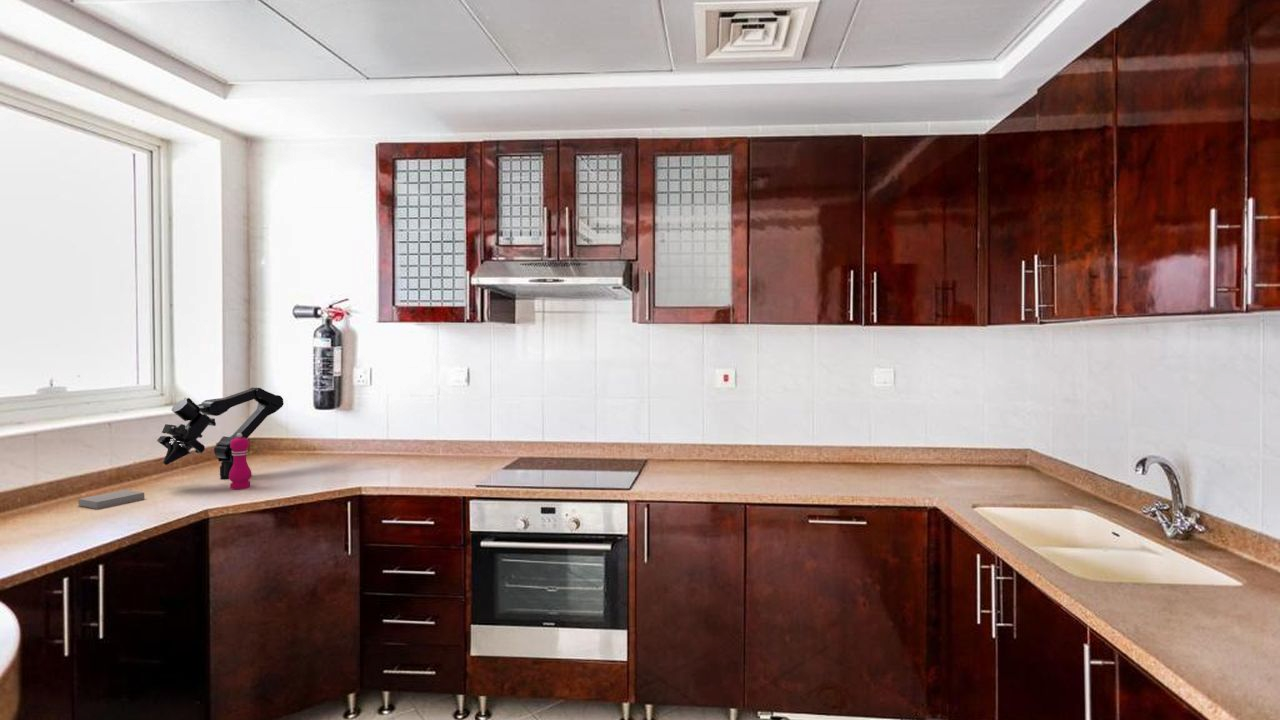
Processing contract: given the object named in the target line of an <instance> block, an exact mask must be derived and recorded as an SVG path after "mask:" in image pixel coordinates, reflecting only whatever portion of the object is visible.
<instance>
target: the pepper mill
mask: <svg viewBox="0 0 1280 720" xmlns="http://www.w3.org/2000/svg"><path fill="white" fill-rule="evenodd" d="M249 447H250V441H249V439H248V438H247V439H246V438H244V437H242V434H241V433H238V434H237V438H234V439H233V440H232V441H231V442H230V448H231V449H232V450H233V451H232V455H233V458H234V462H233V466H232V468H231V470H230V472H229V481H230V482H231V483H230V489H231V490H245V489H249V488H250V487H251V481H250V479H251V478H252V475H253V473H252V470H251V468H250V466H249V465H248V462H247V455H248V454H249V453H248V452H249V450H248V448H249Z"/></svg>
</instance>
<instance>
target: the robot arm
mask: <svg viewBox="0 0 1280 720" xmlns="http://www.w3.org/2000/svg"><path fill="white" fill-rule="evenodd" d="M253 400H254V401H255V402H256V403H257V405H256V409H255V411H253V413H251V415H250V416H249V417H248V418H247V419H246V420H245V421H244V423H242V424H241V425H240V427H239V428H238V429H237V430H235V432H234V433H233V434H232V435H230V436H222V437H221V438H220V440H219V441H218V442H216V443H215V446H214V448H213V454H214V456H215V457H216V458H217V460H218V462H220V464H221V465H220V466H219V477H220V478H219V479H221V480H224V479H225V480H226V479H229V472H230V470H231V468H232V466H233V462H234V458H233V455H232V451H233V450H232V449H231V448H230V442H231V441H232V440H233V439H234V438H237V434H238V433H241V434H242V437H244V438H246V439H247V440H248V438H249V437H250V436H251V435H252V434H253V433H254V431H256V429H257V428H258V427H259V426H261V424H262V423H263V421H265V420H266V418H267V417H268V416H271V415H272V414H274V413H276V412H278V411H279V410H280V409H281V408H283V406H284V404H285V403H284V398H283V397H282V396H281V395H278V394H275V393H272V392H269V391H266V390H265V389H263V388H262V387H251V388H249V389H245V390H243V391H240V392H237V393H233V394H231V395H228V396H226V397H221V398H213V399H206V400H203V401H202V402H201V403H200V404H196V403H195V402H194V401H193V400H192V399H191V398H190V397H184V398H183V399H182V400H180V401H178V402H177V403H174V405H173V406H172V408H171V411H172V413H174V414H175V415H176V416H177V417H179V418H180V419H181V420H182V421H184V422H187V424H182V423H178V424H176V425H174V424H167V423H165V424H164V426H163V428H162V431H161V433H162V434H167V435H168V436H167V435H161V436H159V438H158V439H156V442H157V443H159V444H160V445H161V446H163V447H165V448H166V449H167V452H166V455H165V457H164V459H163V462H162V465H165V466H167V465H170V464H171V463H173V462H175V461H177V460H179V459H181V458H184V457H185V456H187V455H190V454H191V452H190V451H192V450H193V449H194V450H195V453H196V454H201V455H202V454H203V452H204V451H205V449H206V446H205V445H204V444H203V443H202V442H200V441H199V440H198V438H200V439H201V438H202V437H203V435H202V434H203V433H204V431H205V430H206V428H208V426H212V427H215V426H217V423H216V419H215V418H211V417H210V416H213V417H214V416H215V417H217V416H218V417H219V416H221V415H222V414H224V413H226V412H228V410H229V409H231V408H232V407H235V406H238V405H241V404H245V403H246V402H249V401H253ZM188 421H189V422H188ZM170 435H171V436H170ZM229 480H230V479H229Z"/></svg>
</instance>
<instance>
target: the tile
mask: <svg viewBox="0 0 1280 720" xmlns="http://www.w3.org/2000/svg"><path fill="white" fill-rule="evenodd" d="M142 500H143V501H144V500H145V492H142V491H136V490H130V489H123V490H117V491H111V492H107V493H102V494H98V495H92V496H86V497H82V498H78V507H82V506H83V507H84V508H87V507H89V508H88V509H93V508H94V510H100V509H99V508H101V509H104V508H109V506H110V507H114V506H119V505H122V504H123V503H124V504H127V503H128V502H129V503H133V502H136V501H137V502H138V501H142ZM129 503H128V504H129ZM83 507H82V508H83Z"/></svg>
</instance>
